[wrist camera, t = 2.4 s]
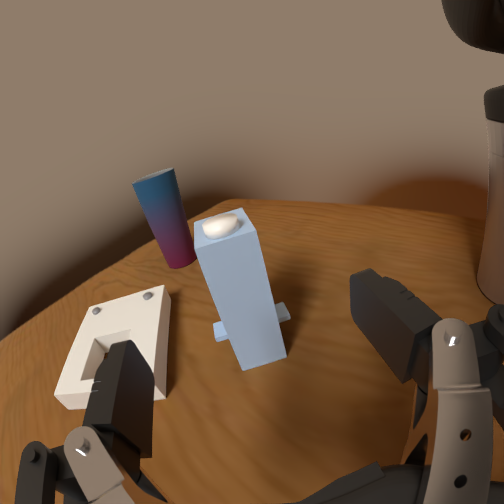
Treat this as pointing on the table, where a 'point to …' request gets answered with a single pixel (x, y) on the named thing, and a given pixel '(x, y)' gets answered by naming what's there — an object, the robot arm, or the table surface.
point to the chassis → (116, 330)
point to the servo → (240, 288)
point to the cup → (166, 216)
